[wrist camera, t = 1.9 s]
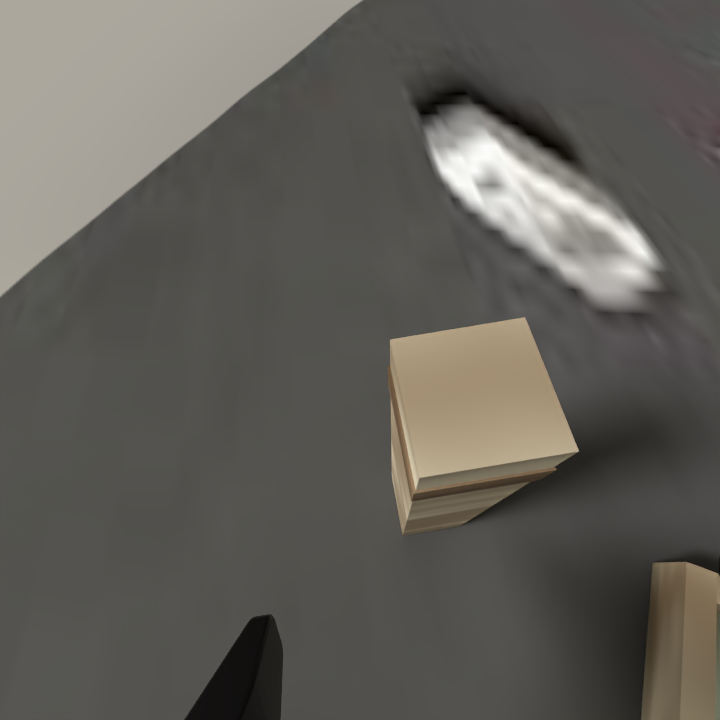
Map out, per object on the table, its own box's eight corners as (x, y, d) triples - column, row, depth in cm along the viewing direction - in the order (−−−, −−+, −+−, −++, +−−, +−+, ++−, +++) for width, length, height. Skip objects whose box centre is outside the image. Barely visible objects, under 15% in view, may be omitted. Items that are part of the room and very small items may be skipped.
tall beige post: (461, 527, 18) (583, 453, 6) (401, 537, 18) (416, 481, 6) (446, 466, 19) (526, 314, 8) (390, 475, 19) (386, 337, 8)
